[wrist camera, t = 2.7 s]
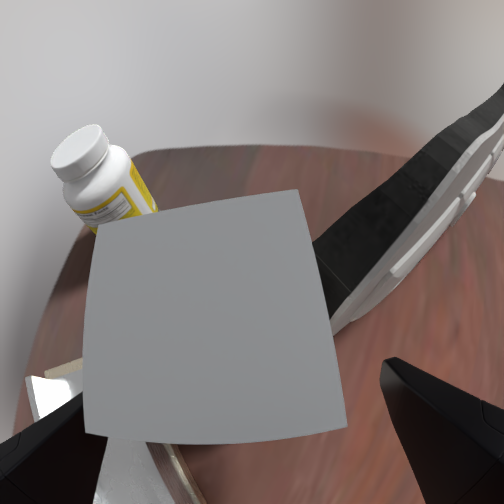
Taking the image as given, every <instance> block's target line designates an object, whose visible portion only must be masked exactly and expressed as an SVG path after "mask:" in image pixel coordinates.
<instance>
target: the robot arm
mask: <svg viewBox="0 0 504 504" xmlns="http://www.w3.org/2000/svg"><path fill="white" fill-rule="evenodd" d="M380 386H381V389H382V392H383V395H384V398H385V402H386V405H387V408H388V411H389V414H390V418H391V421H392V424H393V426H394V428H395V431H396V433H397V435H398V437H399V440H400V442H401V444H402V446H403V449H404V451H405V453H406V456H407V458H408V460H409V463H410V465H411V468H412V470H413V472H414V475H415V477H416V480H417V482H418V485H419V487H420V490H421V492H422V495H423V497H424V500H425V503H426V504H504V409H501V408H499V407H497V406H494V405H492V404H490V403H488V402H486V401H484V400H480V399H479V398H477V397H475V396H473V395H471V394H469V393H467V392H465V391H463V390H461V389H459V388H457V387H455V386H453V385H451V384H449V383H446V382H444V381H442V380H440V379H438V378H436V377H435V376H433V375H431V374H429V373H427V372H425V371H423V370H421V369H419V368H417V367H415V366H413V365H411V364H409V363H407V362H405V361H403V360H401V359H399V358H397V357H392V358H389V359H385V360H384V361H383V363H382V368H381V374H380ZM107 442H108V437H106V436H101V435H95V434H90V433H85V422H84V408H83V391H82V392H81V393H79V394H78V395H76V396H75V397H73V398H72V399H70V400H69V401H67V402H66V403H64V404H63V405H61V406H60V407H58V408H57V409H55V410H54V411H52V412H50V413H49V414H47V415H46V416H44V417H43V418H41V419H40V420H38V421H37V422H35V423H33V424H32V425H30V426H29V427H27V428H26V429H24V430H23V431H22V432H19V433H18V434H16V435H15V436H13V437H11V438H10V439H8V440H6V441H5V442H3V443H1V444H0V504H93V501H94V497H95V492H96V487H97V483H98V479H99V474H100V470H101V466H102V462H103V458H104V454H105V451H106V447H107Z"/></svg>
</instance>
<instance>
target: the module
mask: <svg viewBox="0 0 504 504" xmlns="http://www.w3.org/2000/svg"><path fill="white" fill-rule="evenodd" d="M82 379H83V408H84V422H85V433H90V434H95V435H101V436H106V437H112V438H119V439H126V440H134V441H143V442H154V443H169V444H235V443H250V442H261V441H271V440H279V439H286V438H293V437H299V436H305V435H311V434H316V433H321V432H326V431H331V430H335V429H340V428H344V427H347V420H346V412H345V405H344V399H343V392H342V386H341V380H340V374H339V368H338V362H337V357H336V351H335V346H334V341H333V335H332V330H331V325H330V320H329V315H328V311H327V306H326V301H325V297H324V292H323V288H322V283H321V279H320V274H319V270H318V266H317V262H316V258H315V253H314V249H313V245H312V241H311V237H310V234H309V230H308V226H307V222H306V218H305V215H304V211H303V207H302V204H301V200H300V196H299V193H298V189H295V190H287V191H279V192H272V193H265V194H258V195H251V196H245V197H238V198H232V199H226V200H219V201H214V202H208V203H202V204H196V205H191V206H185V207H180V208H175V209H169V210H164V211H159V212H154V213H149V214H145V215H140V216H135V217H131V218H126V219H121V220H117V221H113V222H108V223H104V224H100V225H98V230H97V235H96V240H95V245H94V251H93V256H92V262H91V269H90V275H89V282H88V290H87V299H86V309H85V320H84V335H83V364H82Z"/></svg>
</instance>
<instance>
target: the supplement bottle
mask: <svg viewBox="0 0 504 504" xmlns="http://www.w3.org/2000/svg"><path fill="white" fill-rule="evenodd" d="M50 164H51V167H52V169H53V170H54V171H55V173H56V174H57V176H58V177H59V178H60V179H61V180H62V181H63V182H64V184H63V196H64V199H65V200H66V202H67V204H68V205H69V206H70V207H71V208H72V210H73V211H74V212H75V213H76V214H77V215H78V216H79V217H80V219H81V220H82V221H83V222H84V223H85V224H86V225H87V226H88V227H89V228H90V229H91V230H92V231H93V232H94V234H95V235H97V230H98V225H100V224H104V223H108V222H113V221H117V220H121V219H126V218H131V217H135V216H140V215H145V214H149V213H154V212H159V211H160V210H159V208H158V206H157V205H156V203H155V201H154V199H153V198H152V196H151V194H150V193H149V191H148V189H147V187H146V186H145V184H144V182H143V180H142V178H141V177H140V175H139V173H138V171H137V170H136V168H135V166H134V164H133V162H132V161H131V159H130V157H129V156H128V154H127V152H126V151H125V150H124V149H122V148H121V147H119V146H115V145H110V144H109V141H108V138H107V137H106V135H105V134H104V132H103V130H102V129H101V127H100V126H99V125H88V126H85V127H82V128H80V129H79V130H77V131H75V132H73V133H72V134H71V135H69V136H68V137H67V138H66V139H65V140H64V141H63V142H62V143H61V144H60V145H59V146H58V147H57V149H56V150H55V151H54V153H53V155H52V157H51V161H50Z"/></svg>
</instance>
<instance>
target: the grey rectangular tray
mask: <svg viewBox="0 0 504 504" xmlns="http://www.w3.org/2000/svg"><path fill="white" fill-rule="evenodd" d="M82 364H83V357H82V358H80V359H77V360H74V361H72V362H69V363H66V364H64V365H61V366H58V367H55V368H53V369H50V370H47V371H44V372H45V377H46V379H44V378H39V377H35V376H28V377H25V380H26V386H27V391H28V396H29V401H30V405H31V410H32V414H33V418H34V421H35V422H37V421H38V420H40V419H41V418H43V417H44V416H46V415H47V414H49V413H50V412H52V411H54V410H55V409H57V408H58V407H60V406H61V405H63V404H64V403H66V402H67V401H69V400H70V399H72V398H73V397H75V396H76V395H78V394H79V393H81V392H82V391H83V379H82ZM93 504H207V502H206V500H205V499H204V497H203V495H202V493H201V492H200V490H199V488H198V486H197V484H196V482H195V480H194V479H193V477H192V475H191V473H190V471H189V469H188V467H187V465H186V463H185V461H184V459H183V456H182V454H181V452H180V450H179V448H178V446H177V444H169V443H154V442H143V441H134V440H126V439H119V438H112V437H108V442H107V447H106V451H105V454H104V458H103V462H102V466H101V470H100V474H99V479H98V483H97V487H96V492H95V497H94V501H93Z"/></svg>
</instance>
